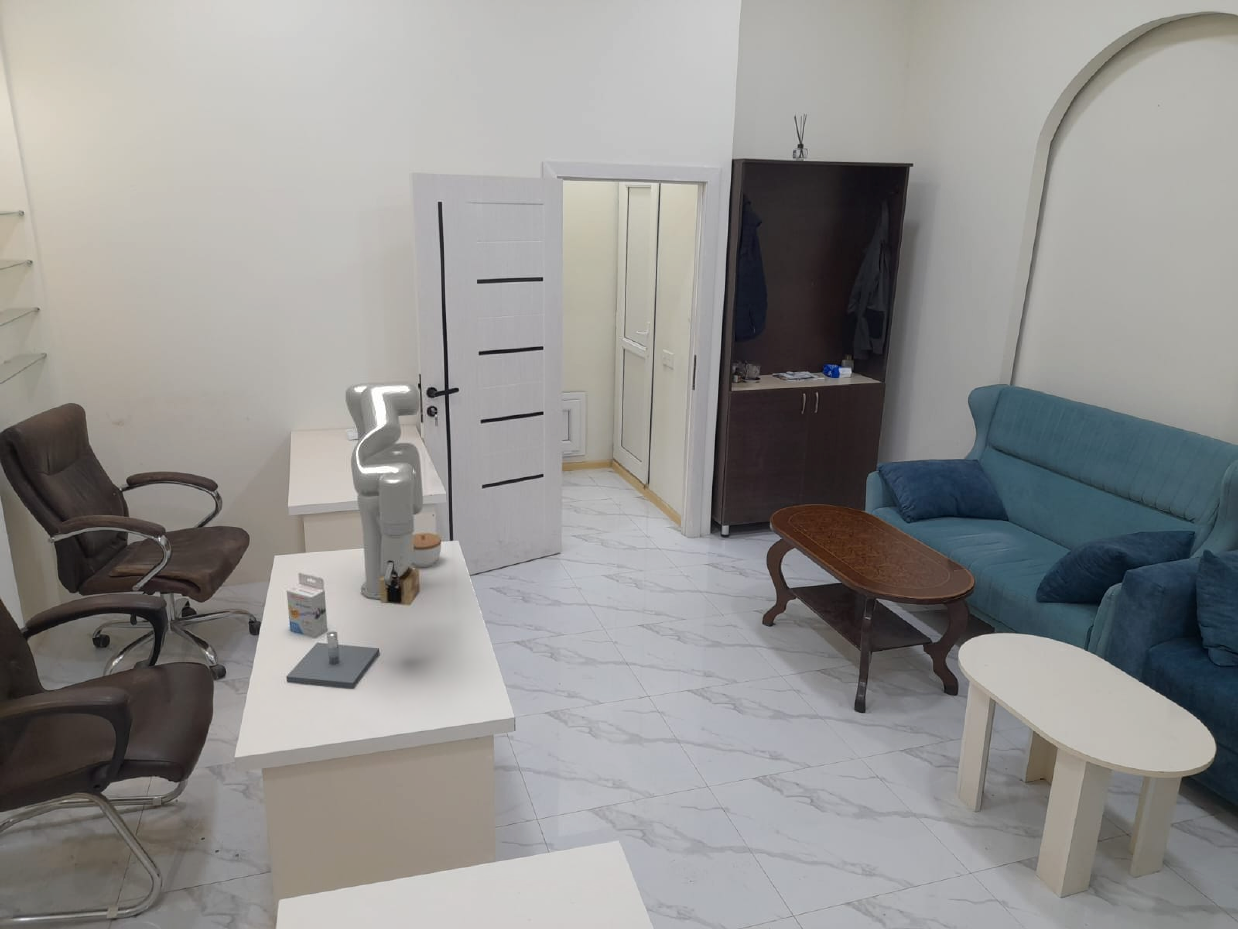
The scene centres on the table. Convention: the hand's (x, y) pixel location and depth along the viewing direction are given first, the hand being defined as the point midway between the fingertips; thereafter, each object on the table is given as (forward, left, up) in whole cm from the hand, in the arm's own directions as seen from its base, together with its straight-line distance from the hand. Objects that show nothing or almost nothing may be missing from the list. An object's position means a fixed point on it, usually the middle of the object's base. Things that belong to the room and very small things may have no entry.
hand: (400, 594), depth 211 cm
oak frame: (0, 0, -1) cm, 1 cm away
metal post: (+6, -15, -16) cm, 23 cm away
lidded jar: (-56, -14, -18) cm, 60 cm away
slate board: (+6, -15, -18) cm, 24 cm away
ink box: (-10, -29, -18) cm, 35 cm away
